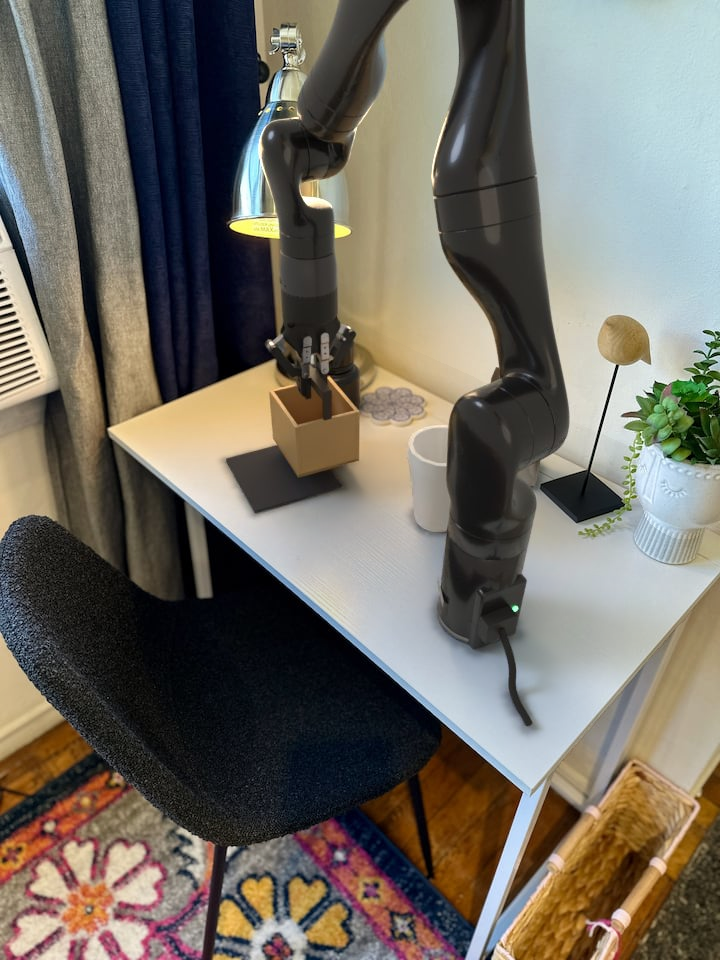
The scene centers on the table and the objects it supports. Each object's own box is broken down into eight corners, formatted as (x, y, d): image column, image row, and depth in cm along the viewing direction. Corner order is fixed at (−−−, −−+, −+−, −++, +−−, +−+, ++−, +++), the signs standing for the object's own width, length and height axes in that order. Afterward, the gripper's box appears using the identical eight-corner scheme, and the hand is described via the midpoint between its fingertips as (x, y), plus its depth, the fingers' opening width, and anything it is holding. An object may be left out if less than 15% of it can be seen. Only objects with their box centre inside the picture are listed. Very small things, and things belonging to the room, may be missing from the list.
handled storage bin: (359, 461, 110) (360, 383, 101) (298, 477, 106) (293, 399, 98) (330, 423, 118) (329, 349, 109) (272, 438, 114) (266, 362, 106)
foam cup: (392, 525, 103) (396, 452, 95) (419, 489, 109) (425, 418, 101) (454, 548, 99) (464, 474, 91) (478, 509, 106) (489, 437, 98)
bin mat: (342, 487, 110) (342, 485, 109) (254, 513, 105) (254, 511, 104) (307, 438, 119) (307, 437, 119) (226, 460, 115) (225, 458, 114)
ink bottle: (342, 384, 133) (342, 325, 125) (371, 405, 127) (372, 345, 120) (298, 401, 128) (295, 340, 121) (325, 423, 123) (324, 361, 115)
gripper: (269, 303, 90) (278, 418, 101) (367, 284, 95) (366, 397, 105) (250, 280, 95) (260, 392, 106) (344, 264, 100) (345, 373, 111)
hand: (313, 394), depth 106 cm, fingers closed on handled storage bin, 1 cm apart
